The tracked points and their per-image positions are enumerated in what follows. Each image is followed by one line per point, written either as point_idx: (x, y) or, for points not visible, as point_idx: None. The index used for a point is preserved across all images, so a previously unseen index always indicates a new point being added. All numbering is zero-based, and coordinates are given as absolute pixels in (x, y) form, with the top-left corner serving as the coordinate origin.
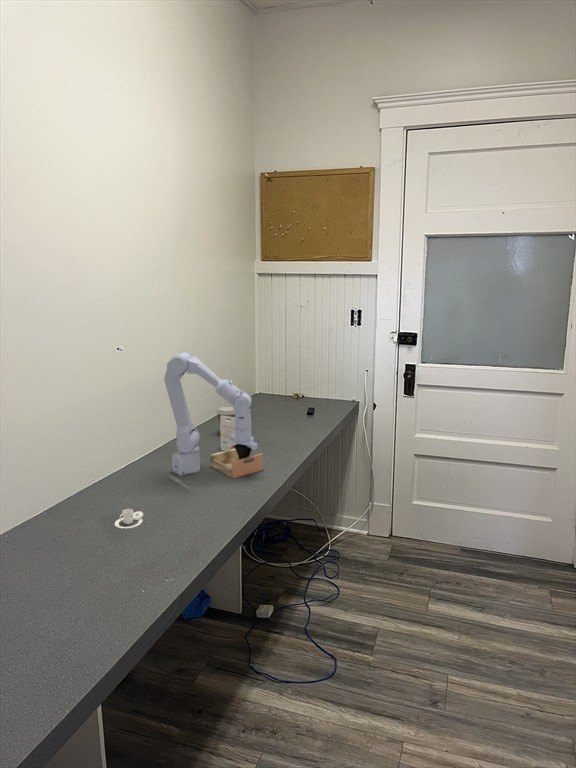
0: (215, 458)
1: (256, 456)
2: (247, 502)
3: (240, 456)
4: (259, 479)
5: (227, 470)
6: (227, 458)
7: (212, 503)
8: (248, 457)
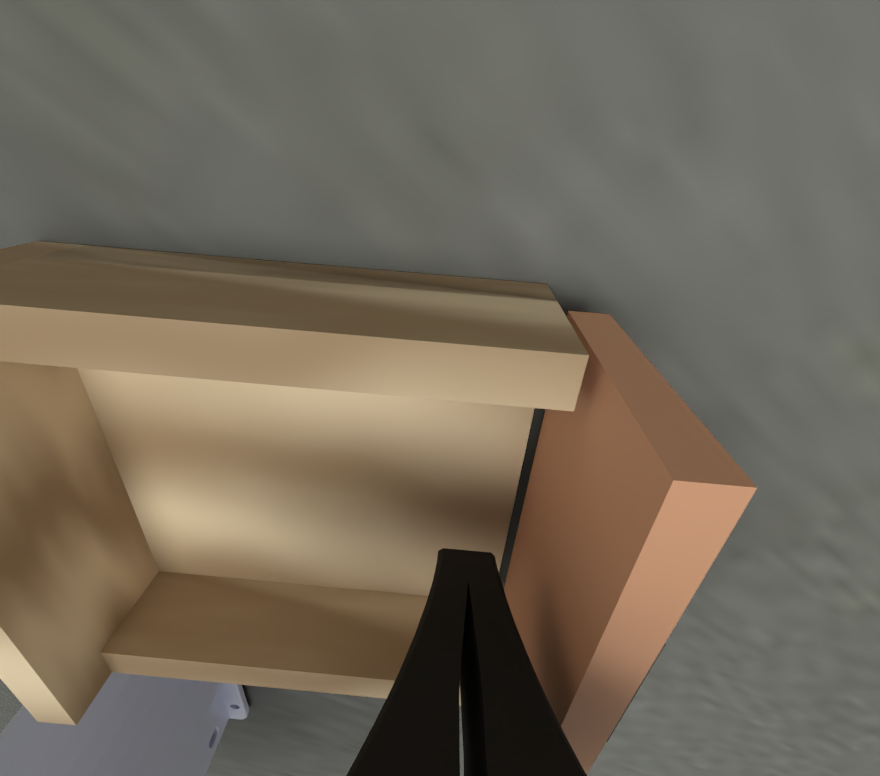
0: (96, 650)
1: (670, 615)
2: (840, 690)
3: (465, 763)
4: None
5: None
6: (66, 504)
7: (648, 757)
8: (595, 722)
